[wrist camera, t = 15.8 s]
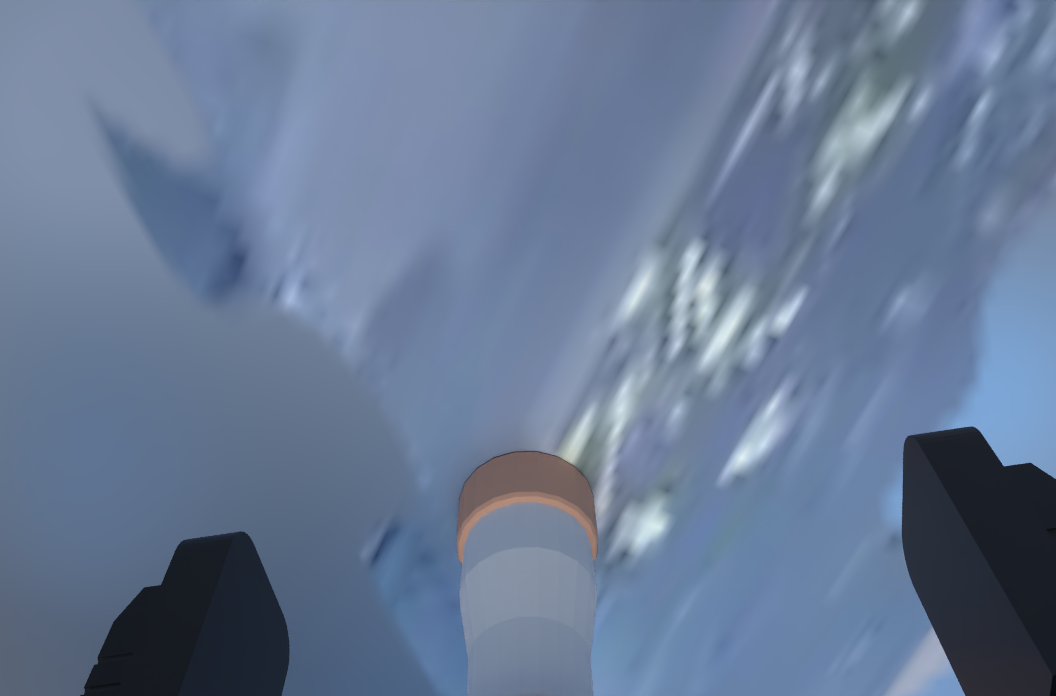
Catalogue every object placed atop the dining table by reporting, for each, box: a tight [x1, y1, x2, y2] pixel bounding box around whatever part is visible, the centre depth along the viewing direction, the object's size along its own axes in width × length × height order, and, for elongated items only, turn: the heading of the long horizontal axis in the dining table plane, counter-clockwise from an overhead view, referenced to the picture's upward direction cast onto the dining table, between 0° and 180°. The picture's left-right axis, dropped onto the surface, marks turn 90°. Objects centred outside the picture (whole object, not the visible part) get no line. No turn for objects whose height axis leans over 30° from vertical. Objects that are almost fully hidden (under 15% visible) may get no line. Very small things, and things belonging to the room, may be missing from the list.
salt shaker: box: [457, 452, 598, 696], centre depth 47 cm, size 7×7×19 cm
